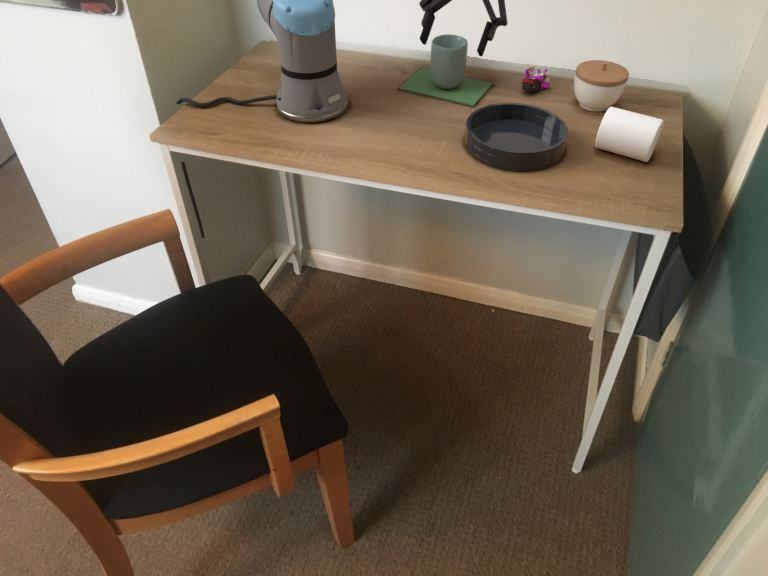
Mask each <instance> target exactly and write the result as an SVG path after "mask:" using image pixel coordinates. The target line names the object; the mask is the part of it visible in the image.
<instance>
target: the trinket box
mask: <svg viewBox="0 0 768 576" xmlns="http://www.w3.org/2000/svg"><path fill="white" fill-rule="evenodd" d="M629 77H630V72H629V70H628V69H627V68H626V67H624V66H623V65H621V64H619V63H616V62H614V61H609V60H604V59H603V60H601V59H592V60H590V59H589V60H586V61H582V62H580V63H579V64H578V65H577V66H576V67H575V75H574V81H573V93H574V96H575V99H576V100H577V102H578V103H579V106H580V107H581V108H582V109H584V110H586V111H590V112H598V113H599V112H604V111H607V110H608V109H609V108H610V107H613V105H615V104H616V103H617V102H618V101H619V99H620V98H621V97H622V94H623V93H624V91H625V89H626V86H627V82H628V80H629Z"/></svg>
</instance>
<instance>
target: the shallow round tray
mask: <svg viewBox="0 0 768 576" xmlns="http://www.w3.org/2000/svg"><path fill="white" fill-rule="evenodd" d="M568 138H569V128H568V125H567V124H566V122H565V121H564V120H563V119H562V117H560V116H559V115H557V114H556V113H554V112H552V111H550V110H548V109H545V108H542V107H540V106H536V105H532V104H527V103H521V102H520V103H518V102H497V103H493V104H492V103H491V104H489V105H488V104H487V105H485V106H481V107H479V108H478V109H476V110H473V112H471V113H470V114H469V116H468V117H467V119H466V123H465V131H464V146H465V149H466V150H467V153H469V154H470V156H471V157H472V158H474V159H475V160H477V161H478V162H480V163H482V164H484V165H487V166H489V167H492V168H495V169H499V170H502V171H509V172H533V171H539V170H543V169H546V168H549V167H552V166H553V165H555V164H556V163H558V162H559V161H560V160H561V159H562V158H563V155H564V152H565V149H566V147H567V141H568Z"/></svg>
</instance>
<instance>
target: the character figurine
mask: <svg viewBox="0 0 768 576" xmlns="http://www.w3.org/2000/svg"><path fill="white" fill-rule="evenodd" d="M534 71H536V73H535V74H533V75H532V76H531V75H530V74H531V73H533V72H534ZM548 71H549V69H548V68H545V69H544V71H542V72H541V68H537V69H536V70H535V66H530V67H529V68H526V69H524V72H525V74H524V75H525V77H524V78H523V79H522V84H521V90H523V91H525V92H530V93H534V92H537V91H538V90H539V88H542V89H549V84H550V80H551V78H550V77H547V76H546V74H547V72H548ZM545 76H546V77H545ZM544 77H545V79H544ZM543 82H544V83H543Z"/></svg>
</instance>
